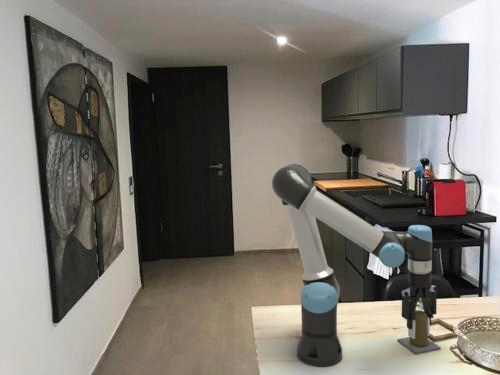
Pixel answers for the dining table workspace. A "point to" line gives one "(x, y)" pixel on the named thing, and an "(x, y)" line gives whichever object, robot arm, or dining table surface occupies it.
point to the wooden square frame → (445, 336)
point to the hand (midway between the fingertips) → (418, 335)
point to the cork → (420, 329)
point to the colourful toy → (420, 303)
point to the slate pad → (418, 349)
